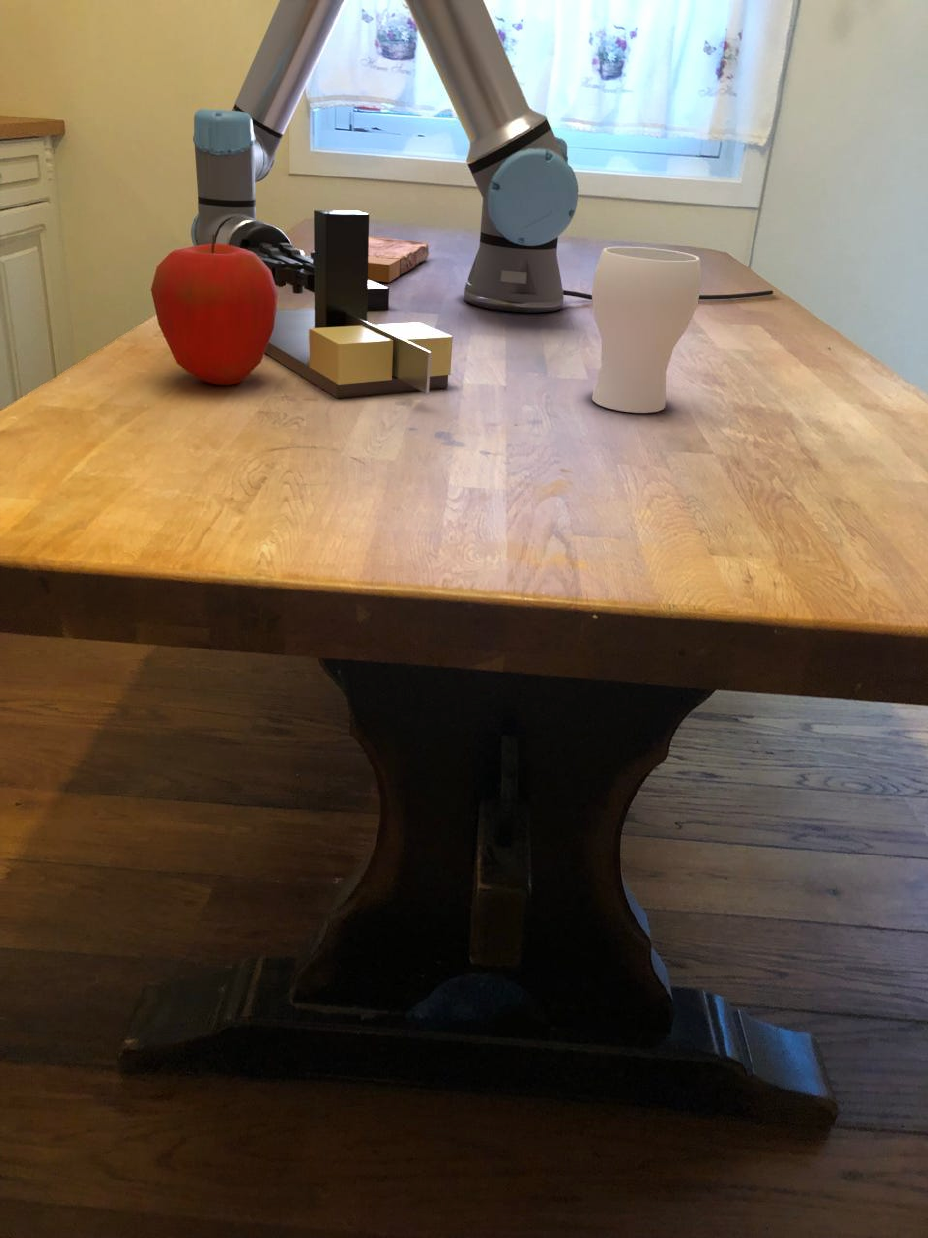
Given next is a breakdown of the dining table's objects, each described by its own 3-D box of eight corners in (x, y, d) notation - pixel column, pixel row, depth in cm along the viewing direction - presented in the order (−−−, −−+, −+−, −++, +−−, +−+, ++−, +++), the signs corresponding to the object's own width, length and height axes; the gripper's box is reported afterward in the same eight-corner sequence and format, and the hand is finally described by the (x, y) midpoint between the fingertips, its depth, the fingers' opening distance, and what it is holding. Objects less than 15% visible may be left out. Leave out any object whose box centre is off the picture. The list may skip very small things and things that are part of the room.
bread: (312, 275, 155) (312, 254, 154) (363, 252, 181) (363, 234, 180) (389, 284, 153) (390, 262, 152) (430, 259, 179) (431, 240, 178)
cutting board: (220, 325, 120) (219, 312, 119) (315, 320, 126) (315, 308, 125) (336, 398, 95) (336, 383, 94) (447, 387, 101) (448, 373, 101)
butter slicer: (314, 345, 106) (313, 209, 100) (355, 342, 109) (356, 210, 102) (405, 395, 91) (411, 240, 84) (449, 391, 94) (459, 239, 87)
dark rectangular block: (326, 300, 138) (326, 278, 137) (363, 298, 141) (363, 277, 140) (350, 311, 132) (350, 289, 131) (388, 309, 135) (389, 287, 134)
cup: (678, 423, 96) (706, 266, 88) (573, 410, 97) (593, 254, 90) (678, 396, 105) (704, 252, 98) (583, 384, 106) (601, 241, 99)
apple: (179, 361, 103) (169, 222, 96) (289, 370, 103) (286, 231, 96) (142, 392, 92) (127, 237, 85) (265, 401, 92) (260, 247, 85)
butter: (309, 367, 99) (309, 328, 97) (417, 358, 105) (419, 321, 103) (338, 384, 94) (338, 343, 92) (450, 374, 100) (452, 336, 98)
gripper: (302, 281, 127) (385, 318, 110) (207, 283, 121) (279, 323, 103) (302, 220, 123) (387, 249, 106) (203, 220, 117) (278, 250, 100)
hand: (334, 285), depth 105 cm, fingers closed
